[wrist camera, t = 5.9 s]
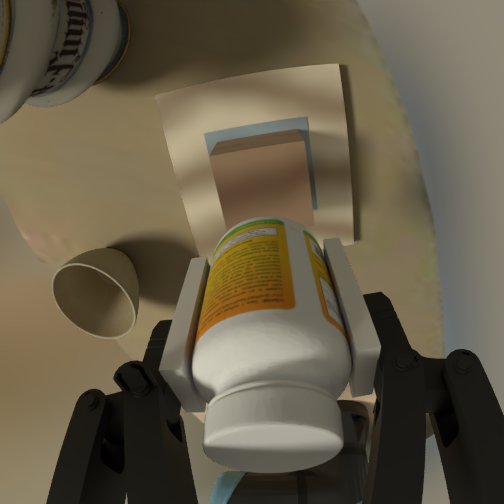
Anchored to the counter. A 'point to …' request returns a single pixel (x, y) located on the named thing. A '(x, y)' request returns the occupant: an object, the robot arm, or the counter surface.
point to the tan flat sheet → (254, 123)
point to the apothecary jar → (57, 49)
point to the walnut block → (263, 178)
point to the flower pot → (98, 293)
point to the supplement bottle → (270, 351)
